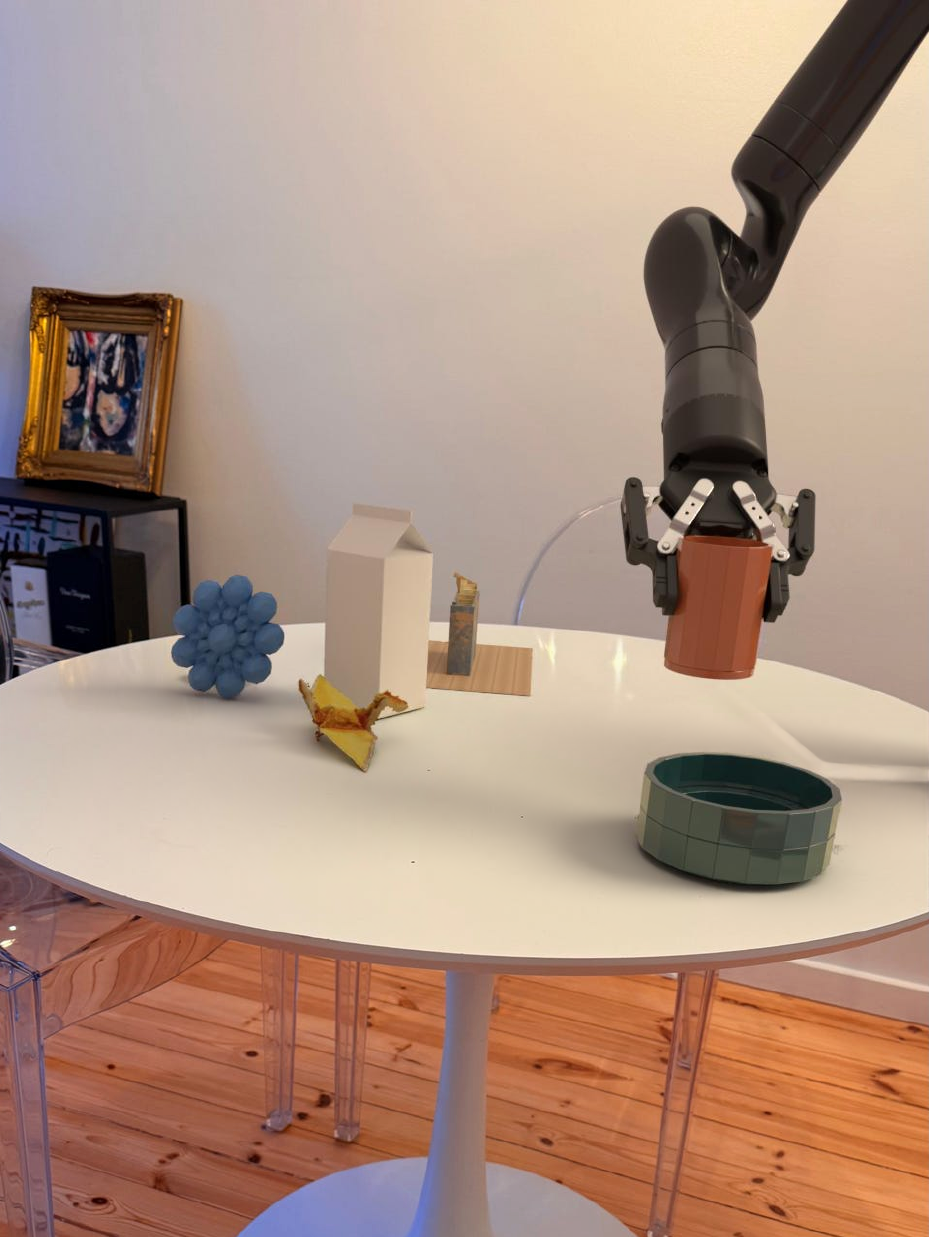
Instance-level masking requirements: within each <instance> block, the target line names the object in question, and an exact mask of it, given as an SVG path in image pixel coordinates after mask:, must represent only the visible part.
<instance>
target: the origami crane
mask: <svg viewBox="0 0 929 1237" xmlns="http://www.w3.org/2000/svg"><path fill="white" fill-rule="evenodd" d="M297 682H298V691H299V693H300V694H301V696H302V699H303V701H304V703H305V705H306V708H307V710H308V711H309V714H310V717H311V718H312V720H311V722H312V724H314V725H316V728H317V729H318V730H315V732H314V735H315V736H314V737H315V738H316V741H317V742H320V739H321V737H322V736H324V735H325V736H326V737H327V738H328V739H329V740H330V741H331V742H332V743H333V744H334V745H335V746H336V747H337V748H338V749H339V750H340V751H343V753H344V754H345V755H346V756H348V757H349V758H351V759H352V760H353V761H354V762H355V763H356V766H357V767H359V768H360V769H361V770H362V771H364V772H365V773H367V772H368V770H367V769H368V766H369V764H370V760H371V758H372V754H373V751H374V747H375V744H376V741H377V739H378V735H376V734H375V732H373V731H374V730H372V726H375V725H376V721H377V720H379V719H378V716H379V715H380V714H381V711H382V710H385V707H387V706H389V708H393V710H392V711H396V712H401V711H404V710H406V709H407V708H408V707H409V706H408V705H407V702H406V701H404V700H401V699H400V698H399V696H393V695H391V692H389V691H388V689H387V691H385V692H383V693H378V694H376V695H375V696H374V697H375V699H374V700H372V701H373V702H372V703H371V704H370V705H369V706H368V707H367V708H366V709H364V708H365V707H363V708H360V709H359V710H358V707H357V706H356V705H355V704H353V702H352V701H351V700H350V699H349V698H348V697H346V696H344V694H343V693H341V692H339V691H338V690H337V689H336V688H335V687H333V686H331V684H330V683H329V682H328V681H327V680H326V679H325V677H324V675H322V673H319V675H317V676H316V677H315V679H314V681H313V683H312V685H311V687H310V685H309V682H305V681H304V680H303V679H302V678H300V679H299V680H298V681H297Z"/></svg>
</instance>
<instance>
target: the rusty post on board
mask: <svg viewBox="0 0 929 1237" xmlns="http://www.w3.org/2000/svg"><path fill="white" fill-rule="evenodd" d="M453 578H455V579H456V580H455V583H456V588H457V591H456V592H455V593H456V594H455V597H454V598H453V600H452V601H451V604H450V608H449V626H448V641H444V640H443V641H444V642H442V640H431V639H429V642H428V660H427V678H426V689H437V690H451V691H464V692H474V693H475V692H477V693H490V694H500V695H501V694H502V695H503V694H504V695H516V696H527V697H531V694H532V693H531V692H532V691H531V690H532V670H533V647H523V646H508V645H494V644H484V643H482V644H481V643H477V637H478V623H479V609H480V608H479V607H480V594H481V591H480V590H478V586H479V584H478V583H476V582H474V581H472V580H469V579H468V578H466V577H465V576H463V575H461V574H460V573H458V572H456V571H454V573H453Z"/></svg>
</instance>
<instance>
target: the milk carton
mask: <svg viewBox="0 0 929 1237" xmlns="http://www.w3.org/2000/svg"><path fill="white" fill-rule="evenodd" d="M433 566H434V552H433V551H432V549H431V547H430V546H429V545H428V544H427V542H426V541H425V539H424V538H423V536H422V535H421V534H420V533H419V531H418V529H417V528H416V527H415V525H414V524H413V510H408V509H404V508H403V509H402V508H396V507H395V508H394V507H387V506H382V505H381V506H380V505H373V504H366V503H359V502H353V503H352V515H351V516H350V517H349V518H348V520H347V521H346V522H345V524H344V525H343V526H342V528H341V529H340V531H339V532H338V533H337V534H336V536H334V538H333V540H332V541H331V543H329V545H328V546H327V547H326V574H325V575H326V576H325V578H326V579H325V580H326V582H325V620H324V624H325V625H324V662H323V663H324V664H323V666H324V667H323V676H324V677H325V679H326V680H327V681H328V682H329V683H330V684H331V686H333V687H335V688H336V689H337V690H338V691H339V692H341V693H343V694H344V696H346V697H348V698H349V699H350V700H351V701H352V702H353V704H355V705H356V706H357V707H358V710H359V709H360V708H363V707H365V708H364V709H366V708H367V707H368V706H369V705H370V704H371V703H372V702H373V701H372V700H374V699H375V697H374V696H375V695H376V694H378V693H383V692H385V691H387V689H388V691H389V692H391V695H393V696H399V698H400V699H401V700H404V701H406V702H407V705H408V706H409V707H408V708H407V709H406V710H404V711H401V712H396V711H392V710H393V708H389V706H387V707H385V710H382V711H381V714H380V715H379V716H378V719H377V720H379V719H383V718H387V717H391V716H395V715H399V714H403V713H406V712H410V711H414V710H415V711H416V710H418V709H422V708H425V705H426V697H427V696H426V694H427V693H426V692H427V688H426V678H427V660H428V642H429V640H430V638H429V637H430V622H431V621H430V620H431V605H432V604H431V602H432V588H433V586H432V584H433V569H434V568H433Z"/></svg>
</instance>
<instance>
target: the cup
mask: <svg viewBox="0 0 929 1237" xmlns="http://www.w3.org/2000/svg"><path fill="white" fill-rule="evenodd" d="M773 549H774V545H773V544H771V543H768V542H763V541H758V540H752V539H745V538H737V537H725V536H707V535H687V536H681V537H679V538H678V545H677V553H676V556H677V579H678V600H677V605H676V608H675V611H674V614H673V616H668V618H667V629H666V635H665V643H664V645H665V646H664V652H663V658H664V659H663V666H664V668H665V669H667V670H669V671H671V672H673V673H675V674H680V675H683V676H688V677H693V678H699V679H707V680H719V681H720V680H721V681H723V680H724V681H733V680H734V681H735V680H736V681H737V680H746V679H749V678H752V677H753V676H754V675H755V670H756V666H757V662H758V661H757V660H758V655H759V646H760V642H761V641H760V640H761V635H762V628H763V623H764V621H763V615H764V608H765V602H766V595H767V589H768V582H769V575H770V569H771V562H772V556H773Z"/></svg>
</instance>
